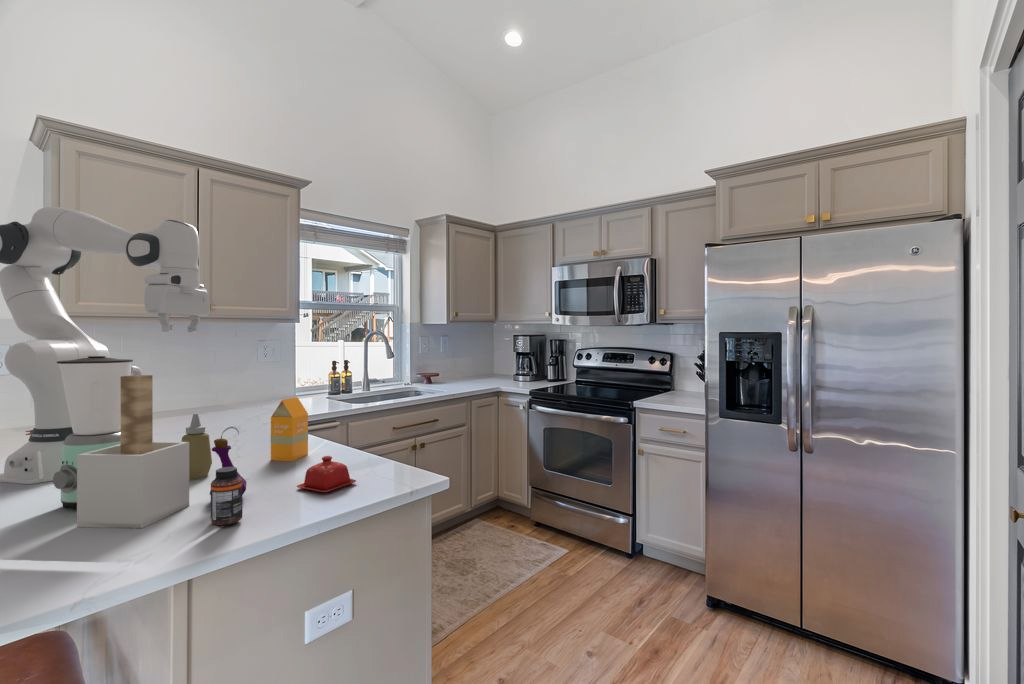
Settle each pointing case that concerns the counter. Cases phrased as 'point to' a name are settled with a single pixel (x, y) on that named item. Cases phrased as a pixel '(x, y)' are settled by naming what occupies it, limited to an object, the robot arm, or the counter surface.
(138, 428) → the long wooden block
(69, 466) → the blender
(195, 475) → the squeeze bottle
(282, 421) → the orange juice
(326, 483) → the butter dish
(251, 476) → the counter surface
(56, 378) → the robot arm
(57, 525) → the counter surface
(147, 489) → the bin
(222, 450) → the potion bottle
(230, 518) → the supplement bottle
